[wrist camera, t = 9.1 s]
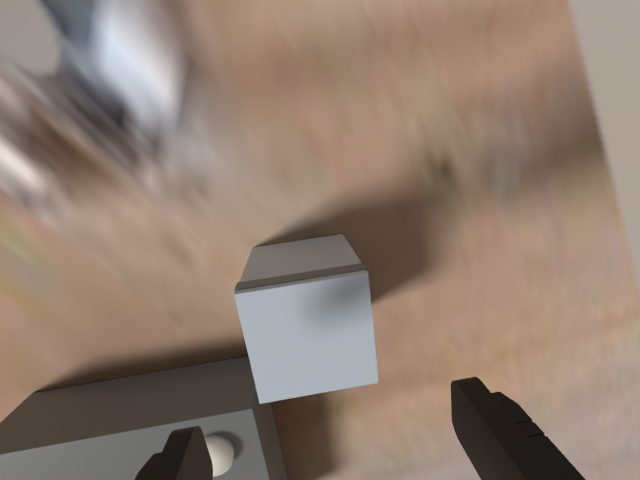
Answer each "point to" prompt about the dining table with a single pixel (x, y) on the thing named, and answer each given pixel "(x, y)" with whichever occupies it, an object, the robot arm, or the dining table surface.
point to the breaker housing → (143, 426)
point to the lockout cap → (307, 318)
